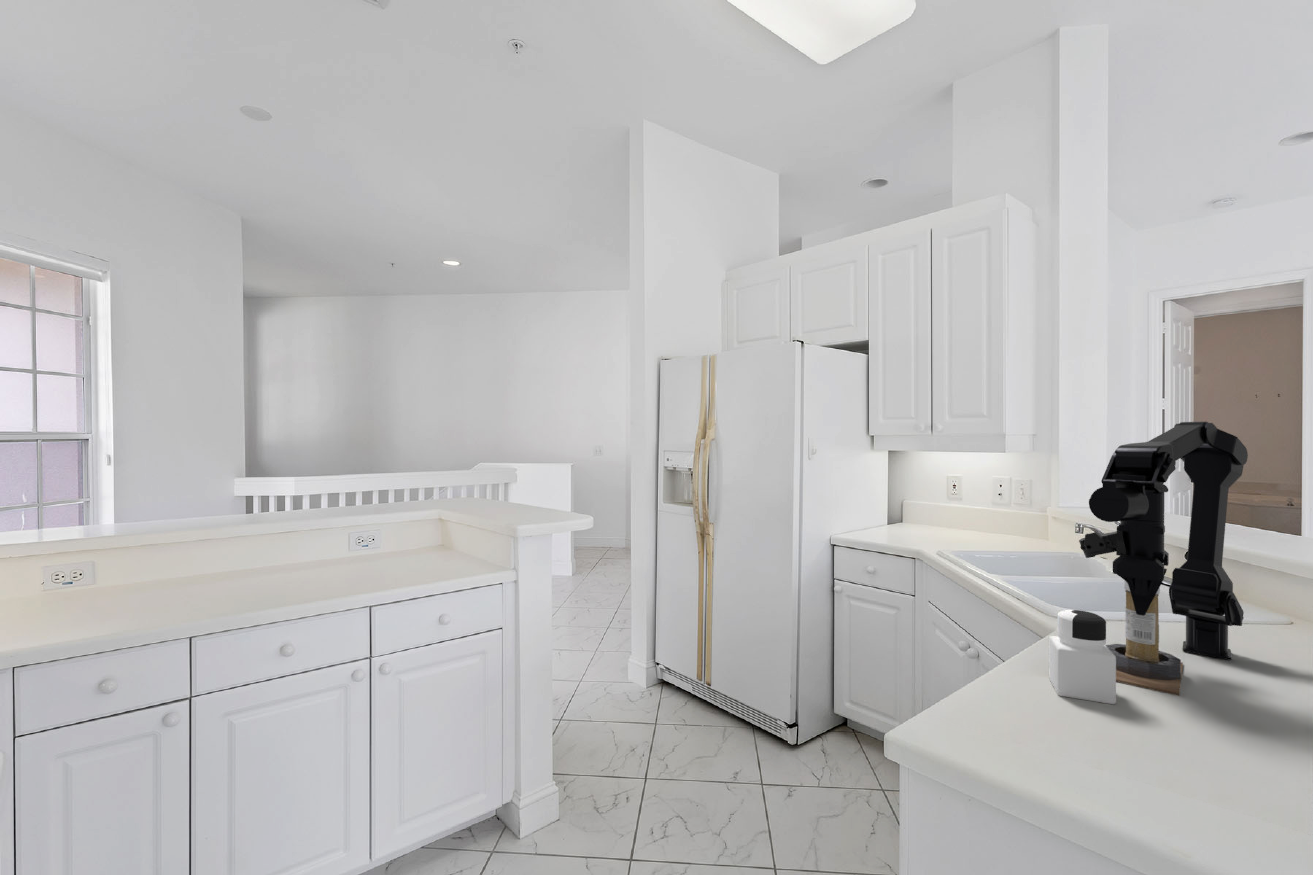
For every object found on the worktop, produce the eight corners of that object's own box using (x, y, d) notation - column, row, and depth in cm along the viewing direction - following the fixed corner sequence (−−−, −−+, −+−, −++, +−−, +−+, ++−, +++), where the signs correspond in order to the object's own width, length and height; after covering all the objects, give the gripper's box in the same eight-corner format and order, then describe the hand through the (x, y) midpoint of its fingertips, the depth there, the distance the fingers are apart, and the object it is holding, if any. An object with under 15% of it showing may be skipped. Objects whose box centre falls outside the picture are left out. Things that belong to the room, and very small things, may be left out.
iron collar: (1108, 653, 106) (1108, 640, 106) (1181, 668, 99) (1181, 654, 99) (1100, 668, 98) (1100, 653, 98) (1179, 685, 92) (1179, 669, 92)
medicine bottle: (1103, 687, 91) (1103, 610, 91) (1116, 705, 85) (1116, 622, 85) (1048, 679, 94) (1049, 604, 94) (1057, 696, 88) (1058, 615, 88)
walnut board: (1110, 650, 109) (1110, 648, 109) (1182, 664, 102) (1182, 662, 102) (1096, 677, 95) (1097, 674, 95) (1179, 695, 89) (1179, 692, 89)
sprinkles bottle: (1163, 661, 98) (1163, 580, 98) (1153, 666, 95) (1153, 584, 96) (1130, 653, 102) (1130, 575, 102) (1119, 658, 99) (1120, 578, 99)
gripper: (1090, 511, 111) (1090, 593, 111) (1074, 519, 98) (1074, 613, 97) (1168, 516, 104) (1168, 605, 103) (1162, 526, 90) (1162, 628, 90)
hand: (1141, 612), depth 99 cm, fingers closed on sprinkles bottle, 4 cm apart
